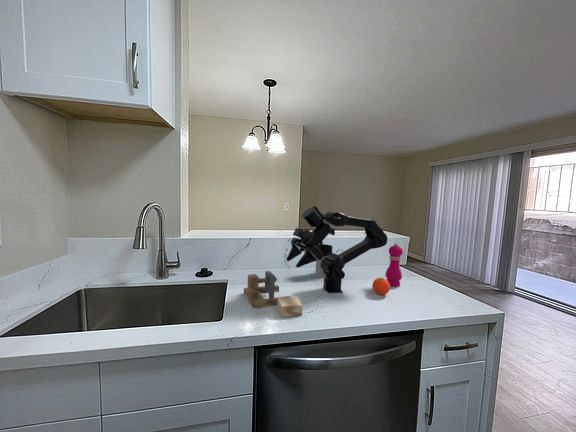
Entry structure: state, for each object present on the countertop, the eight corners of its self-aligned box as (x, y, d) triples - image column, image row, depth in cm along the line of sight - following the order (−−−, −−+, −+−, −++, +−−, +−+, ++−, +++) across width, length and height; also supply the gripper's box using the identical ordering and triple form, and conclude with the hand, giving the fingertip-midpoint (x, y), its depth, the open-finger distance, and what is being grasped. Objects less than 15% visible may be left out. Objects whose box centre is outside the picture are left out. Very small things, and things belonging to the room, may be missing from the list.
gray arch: (268, 291, 101) (269, 270, 100) (273, 298, 95) (275, 276, 94) (264, 292, 100) (265, 271, 99) (269, 298, 94) (271, 276, 93)
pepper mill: (384, 285, 118) (387, 242, 116) (384, 281, 125) (388, 240, 123) (401, 288, 115) (405, 244, 114) (400, 283, 122) (404, 242, 120)
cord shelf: (277, 289, 106) (278, 268, 105) (290, 303, 93) (292, 279, 93) (243, 293, 101) (244, 270, 100) (253, 308, 88) (254, 282, 87)
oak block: (296, 306, 91) (297, 296, 91) (302, 315, 84) (302, 305, 84) (277, 307, 89) (277, 297, 89) (281, 316, 83) (281, 306, 82)
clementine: (372, 289, 112) (373, 273, 112) (389, 292, 110) (390, 275, 109) (371, 295, 105) (372, 278, 104) (389, 298, 102) (391, 281, 102)
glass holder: (315, 271, 134) (316, 243, 133) (342, 274, 131) (344, 245, 130) (313, 276, 126) (315, 246, 124) (343, 280, 123) (345, 249, 122)
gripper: (296, 218, 109) (270, 244, 106) (318, 224, 92) (288, 255, 89) (311, 236, 113) (287, 262, 110) (335, 245, 96) (307, 276, 93)
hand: (291, 263), depth 100 cm, fingers open, 9 cm apart
